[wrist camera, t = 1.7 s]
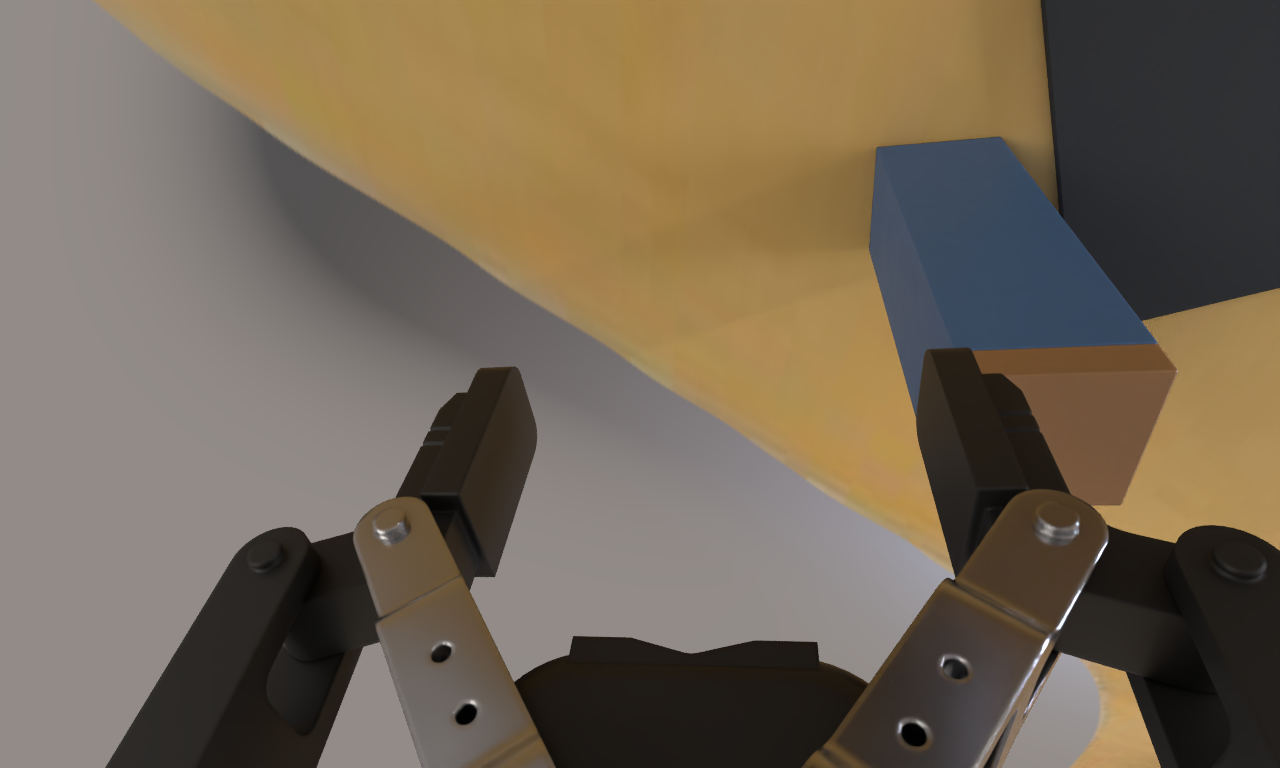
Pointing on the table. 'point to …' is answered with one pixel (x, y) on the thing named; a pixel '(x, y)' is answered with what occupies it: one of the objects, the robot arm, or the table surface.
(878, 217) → the tall block
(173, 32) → the table surface
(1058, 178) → the felt mat
